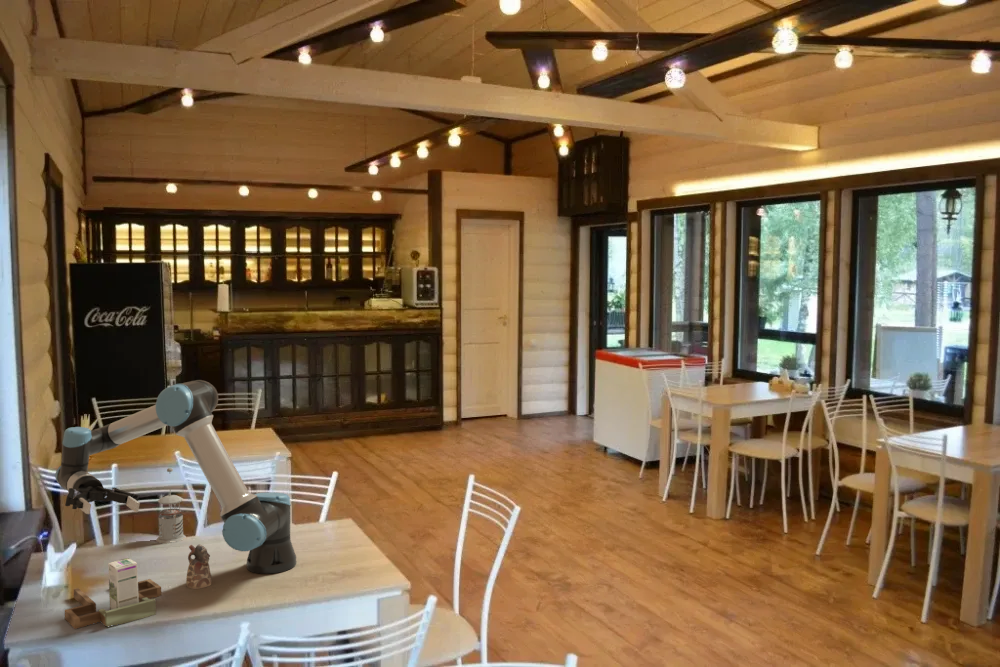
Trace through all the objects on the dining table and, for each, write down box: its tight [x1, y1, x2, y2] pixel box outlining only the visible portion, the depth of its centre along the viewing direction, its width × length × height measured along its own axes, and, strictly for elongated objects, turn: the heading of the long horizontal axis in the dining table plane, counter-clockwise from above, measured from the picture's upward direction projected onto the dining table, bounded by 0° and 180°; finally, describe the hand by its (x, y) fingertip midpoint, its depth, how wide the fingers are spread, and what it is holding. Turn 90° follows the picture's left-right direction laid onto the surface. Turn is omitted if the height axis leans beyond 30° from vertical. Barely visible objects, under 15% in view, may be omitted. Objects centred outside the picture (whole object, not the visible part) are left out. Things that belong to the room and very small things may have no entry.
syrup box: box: [107, 557, 139, 610], centre depth 214 cm, size 6×6×14 cm
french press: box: [155, 467, 187, 544], centre depth 278 cm, size 10×12×25 cm
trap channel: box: [64, 578, 162, 630], centre depth 220 cm, size 27×25×4 cm
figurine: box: [185, 544, 213, 590], centre depth 236 cm, size 7×7×12 cm
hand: (113, 508), depth 226 cm, fingers open, 13 cm apart
